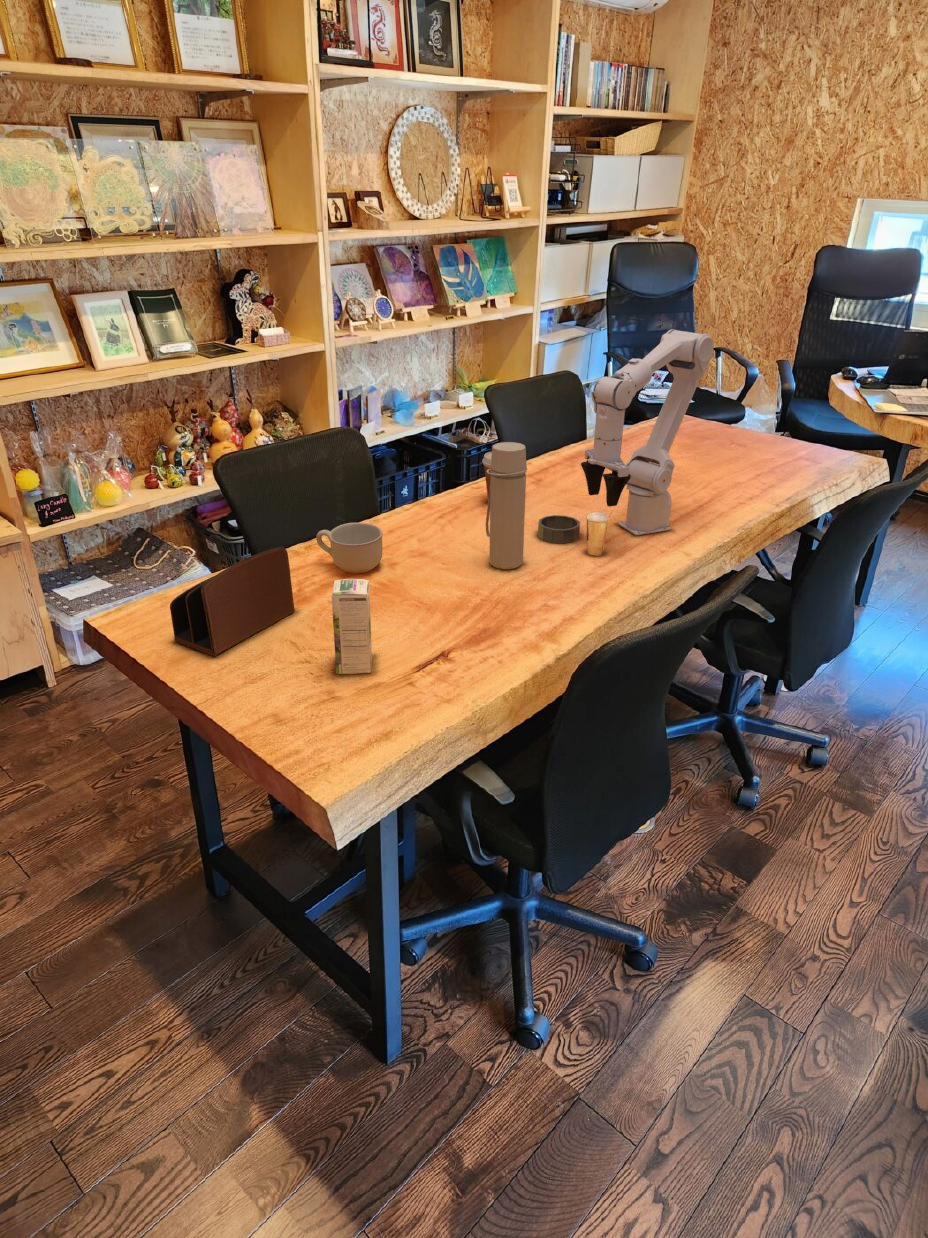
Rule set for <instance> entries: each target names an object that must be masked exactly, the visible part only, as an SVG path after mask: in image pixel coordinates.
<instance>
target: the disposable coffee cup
mask: <svg viewBox="0 0 928 1238" xmlns="http://www.w3.org/2000/svg"><path fill="white" fill-rule="evenodd" d="M491 457H492V451H488V452H485V454H484V455H483V459H482V464H483V467H484V468H483V469H484V477H485V486H486V494H487V499H488V498H489V489H490V480H491V475H490V474H488V473H487V472H486V471H487V470H488V469H490V468H489V467H490V466H491ZM488 472H489V473H490V471H488Z"/></svg>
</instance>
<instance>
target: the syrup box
mask: <svg viewBox="0 0 928 1238" xmlns="http://www.w3.org/2000/svg"><path fill="white" fill-rule="evenodd" d="M332 586H333V587H332V593H331V607H332V624H333V625H332V626H333V628H332V629H333V642H334V644H333V645H334V658H335V659H334V660H335V673H336V674H337V675H354V674H371V673H372V658H373V650H372V649H373V646H372V645H373V644H372V622H371V621H372V620H371V619H372V618H371V597H370V580H369V579H360V578H345V579H343V578H342V579H336V580H334V581H333V585H332Z"/></svg>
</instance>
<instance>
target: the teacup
mask: <svg viewBox="0 0 928 1238" xmlns="http://www.w3.org/2000/svg"><path fill="white" fill-rule="evenodd" d="M323 536H326V537H327V539H328V540H329V543H330V546H328V545H327V544H326V543H325V542H324V541H323V538H322V537H323ZM315 540H316V543H317V546H318V547H319V548H320V549H322V551H324V552H325V553H327V554H329V555H330V557H331V559H332V561H333V563H334V565H336V567H338V568H339V569H340V570H342V571H343V572H346V573H349V574H355V575H356V574H364V573H365V574H366V573H367V572H368V573H369V572H370V571H372V570H373V569H374V568H375V567H377V566H378V565H379V563H380V562H381V561H382V559H383V558H382V557H383V529H382V528H380V527H379V526H377V525H376V524H373V523H368V522H348V523H343V524H339V525H338V526H336V527H334V528H332V529H331V530H328V529H322V530H319V531H318V532H317V534H316V537H315Z"/></svg>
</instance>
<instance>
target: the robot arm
mask: <svg viewBox="0 0 928 1238" xmlns="http://www.w3.org/2000/svg"><path fill="white" fill-rule="evenodd" d="M713 355H714V341H713V338H712V336H711V335H710V334H709V333H699V332H698V333H697V332H690V331H685V330H677V329H675V328H671V329H669V330H667V332H666V333H664V334H662V335H661V339H660V342H659V344H658V345H656V346H655V347H654V348H653V349H652V350H651V351H650V352H649V353H648V354H646V355H645V356H644V357H643V358H633V357H632V358H631V359H629V360H628V363H626V364H625V365H624V366H622V367H621V368H620V369H618V370H616V371H615V372H614V373H613V374H612V375H611V376H603V377H601V378H599V379H598V380H597V381H596V382H595V383H594V386H593V390H592V391H591V400H592V402H593V411H594V414H595V426H594V438H593V448H588V449H585V450H584V459H585V460H586V461H582V462H580V466H581V469H582V471H583V473H584V477H585V481H586V487H587V491H588V495H589V496H597V495H599V494H600V491H601V486H602V479H603V480H604V484H605V490H606V491H605V492H606V493H605V494H606V499H605V500H606V501H605V502H606V506H607V507H610V508H611V507H617V505H618V503H619V501H620V499H621V496H622V493H623V491H624V489H625V488H626V489H625V490H628V497H627V498H628V499H627V506H626V507H627V508H626V517H625V518H626V519H625V520H623V521H619V522H617V525H618V526H620V527H622V528H623V529H624V530H626V531H628V532H630V533H631V534H633V535H634V536H642V535H649V534H654V533H660V532H661V533H662V532H666V531H670V530H671V527H670V520H671V512H672V503H673V502H672V495H671V493H670V492H669V491H668V489H669V488H670V486H671V484H672V479H673V472H674V469H675V463H674V460H673V459H672V457H671V455H670V454H669V453H670V450H671V448H672V446H673V444H674V441H675V438H676V436H677V434H678V433H679V432H678V431H679V429H680V427H681V424H682V422H683V419H684V417H685V415H686V413H687V410H688V408H689V406H690V404H691V401H692V399H693V397H694V394H695V392H696V390H697V387H698V385H699V383H700V380H701V379H703V378H704V377H705V374H706V371H707V369H708V367H709V364H710V363H711V361H712V358H713ZM665 366H666V368H667V371H668V372H670V374H672V376H673V381H672V382H671V385H670V387H669V390H668V392H667V395H666V397H665V400H664V402H663V404H662V406H661V409H660V410H659V413H658V416H657V418H656V420H655V423H654V425H653V427H652V430H651V432H650V434H649V437H648V440H647V441H646V444H645V445H644V446H642V447H640V448H639V447H638V448H637V449H635V450H634V451H633V452H632V454H631V456H630V458H629V460H628V461H627V462H626V463H625V462H624V460H623V459H622V458H621V454H622V444H623V434H624V426H625V425H624V424H625V413H626V409H627V408H628V407H629V406H630V405H631V402H632V401H633V398H634V397H635V396H636V394H637V392H639V391H640V390H641V389H642V388H644V387H645V386H647V385H649V383H650V382H651V381H652V377H653V373H655V372H657V371H658V370H660V369H661V368H663V367H665ZM606 469H607V470H609V471H611V472H609V473H604V472H605V470H606Z"/></svg>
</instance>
